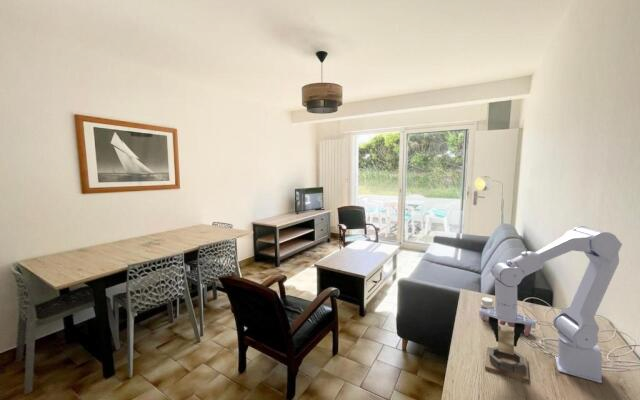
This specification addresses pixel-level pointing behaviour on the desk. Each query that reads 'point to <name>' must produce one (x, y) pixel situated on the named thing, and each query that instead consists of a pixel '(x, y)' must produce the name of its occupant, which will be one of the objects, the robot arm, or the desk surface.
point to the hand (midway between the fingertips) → (506, 342)
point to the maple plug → (506, 339)
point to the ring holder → (507, 364)
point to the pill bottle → (487, 306)
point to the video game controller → (527, 328)
